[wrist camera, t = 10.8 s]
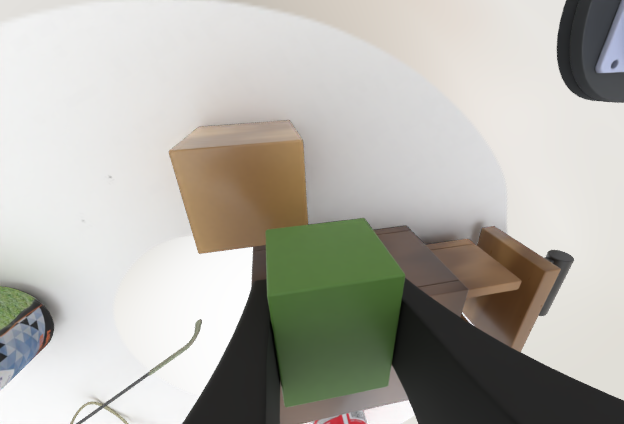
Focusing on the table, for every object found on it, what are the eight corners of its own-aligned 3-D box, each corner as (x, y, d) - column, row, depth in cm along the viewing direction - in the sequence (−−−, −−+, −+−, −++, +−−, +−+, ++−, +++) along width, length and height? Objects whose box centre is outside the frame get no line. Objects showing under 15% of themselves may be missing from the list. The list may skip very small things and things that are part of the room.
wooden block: (290, 119, 17) (303, 139, 12) (295, 195, 19) (309, 239, 14) (198, 126, 16) (167, 150, 11) (216, 203, 19) (198, 254, 13)
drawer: (543, 218, 23) (622, 258, 18) (511, 298, 28) (568, 348, 22) (364, 243, 21) (397, 296, 16) (359, 325, 25) (384, 387, 20)
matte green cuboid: (359, 314, 12) (389, 387, 9) (278, 328, 12) (284, 409, 9) (364, 216, 10) (407, 274, 7) (265, 228, 9) (266, 295, 6)
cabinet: (406, 225, 22) (469, 289, 15) (394, 315, 27) (437, 393, 20) (253, 245, 21) (249, 326, 14) (269, 337, 25) (272, 430, 19)
